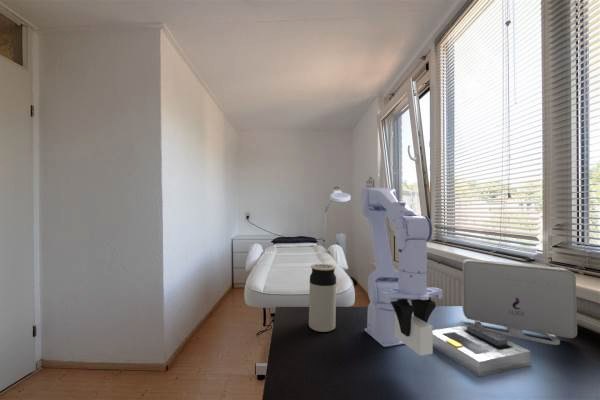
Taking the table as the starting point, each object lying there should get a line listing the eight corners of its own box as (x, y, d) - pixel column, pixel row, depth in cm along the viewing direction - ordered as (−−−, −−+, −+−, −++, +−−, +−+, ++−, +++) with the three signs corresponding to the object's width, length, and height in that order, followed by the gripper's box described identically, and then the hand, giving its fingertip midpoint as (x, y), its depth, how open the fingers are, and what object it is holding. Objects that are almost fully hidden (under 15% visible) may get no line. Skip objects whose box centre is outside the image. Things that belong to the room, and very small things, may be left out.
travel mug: (336, 333, 71) (337, 269, 72) (308, 332, 71) (310, 268, 72) (333, 321, 79) (334, 263, 79) (308, 320, 79) (309, 262, 80)
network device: (464, 327, 77) (464, 261, 77) (461, 316, 84) (461, 257, 85) (582, 350, 65) (580, 272, 66) (566, 336, 72) (564, 266, 73)
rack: (427, 343, 66) (427, 324, 67) (473, 335, 71) (472, 318, 71) (479, 377, 53) (479, 353, 53) (530, 365, 58) (530, 344, 58)
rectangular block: (394, 336, 57) (395, 312, 58) (405, 334, 58) (405, 310, 59) (420, 355, 50) (420, 327, 50) (432, 353, 51) (432, 326, 51)
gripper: (395, 276, 49) (395, 347, 48) (454, 273, 53) (454, 338, 52) (375, 268, 56) (375, 330, 55) (428, 266, 60) (428, 323, 59)
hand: (412, 333), depth 54 cm, fingers closed on rectangular block, 3 cm apart
